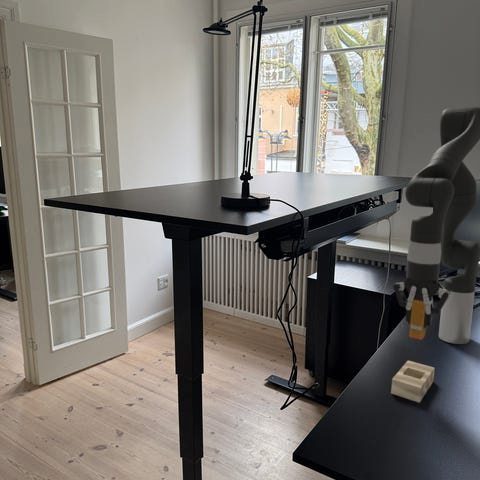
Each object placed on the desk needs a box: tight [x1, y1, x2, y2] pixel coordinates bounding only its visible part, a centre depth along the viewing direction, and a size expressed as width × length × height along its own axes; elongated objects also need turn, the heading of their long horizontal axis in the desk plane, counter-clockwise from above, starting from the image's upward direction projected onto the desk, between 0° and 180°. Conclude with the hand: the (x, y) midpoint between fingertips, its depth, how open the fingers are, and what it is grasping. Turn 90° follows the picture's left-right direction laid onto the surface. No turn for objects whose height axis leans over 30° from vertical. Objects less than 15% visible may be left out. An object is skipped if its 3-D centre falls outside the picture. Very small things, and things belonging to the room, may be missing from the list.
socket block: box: [390, 360, 435, 404], centre depth 115 cm, size 13×7×4 cm, turn 143°
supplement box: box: [409, 299, 427, 341], centre depth 112 cm, size 3×3×10 cm
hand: (418, 324), depth 112 cm, fingers closed on supplement box, 3 cm apart
